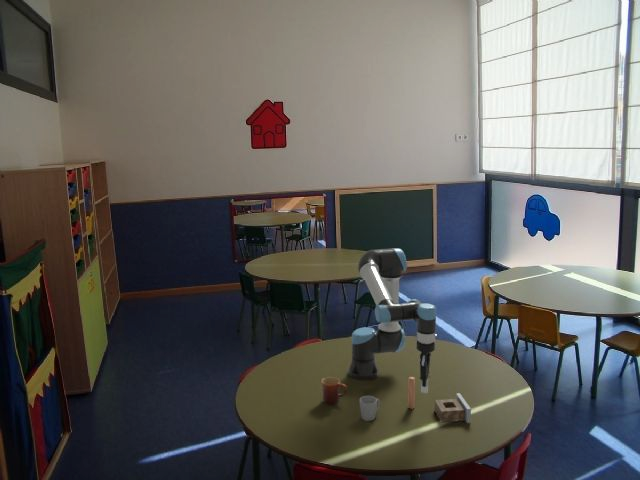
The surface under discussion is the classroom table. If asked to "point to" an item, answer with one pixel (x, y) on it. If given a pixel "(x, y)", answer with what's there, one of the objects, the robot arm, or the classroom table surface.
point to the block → (449, 410)
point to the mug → (332, 390)
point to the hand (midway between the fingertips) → (424, 392)
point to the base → (465, 406)
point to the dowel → (411, 392)
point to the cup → (368, 407)
